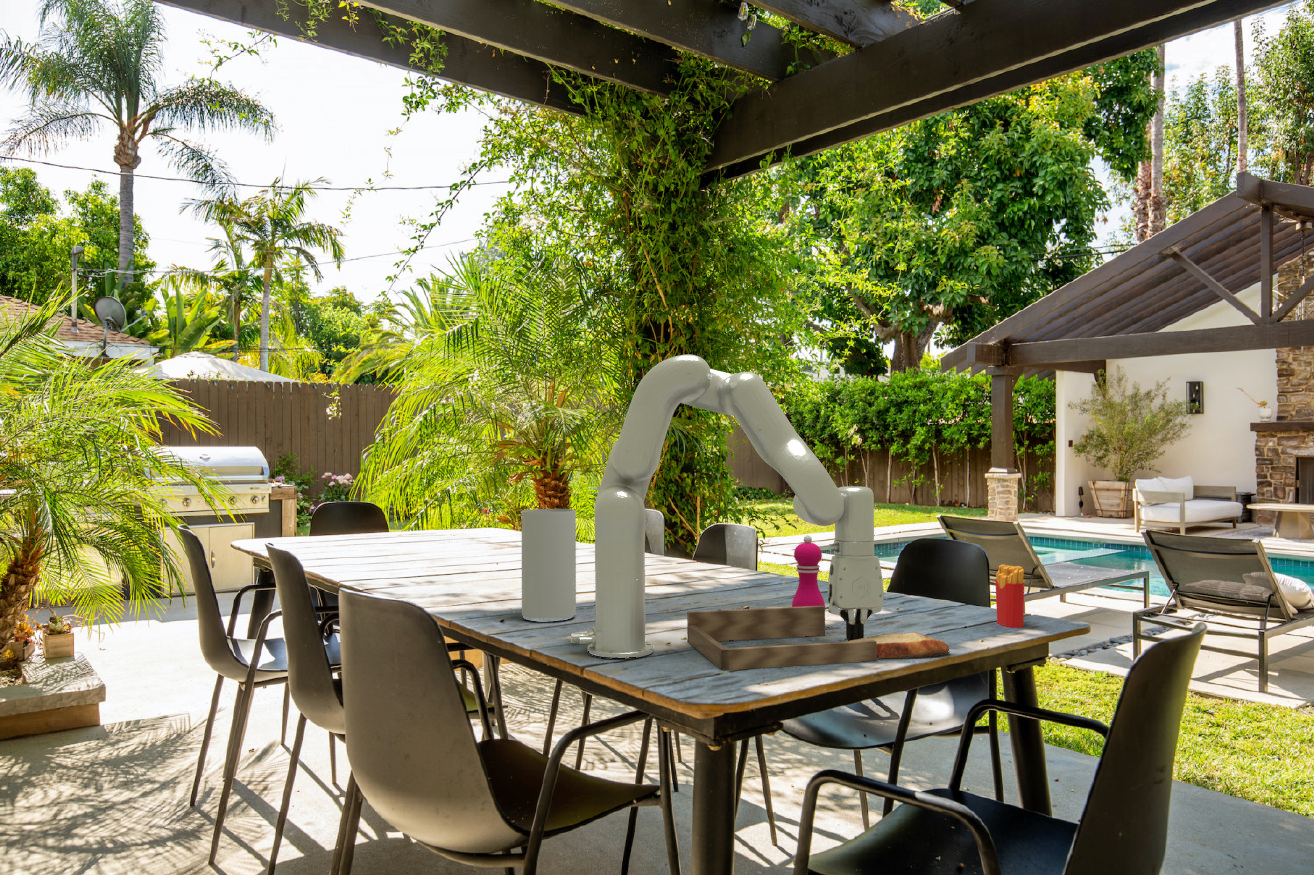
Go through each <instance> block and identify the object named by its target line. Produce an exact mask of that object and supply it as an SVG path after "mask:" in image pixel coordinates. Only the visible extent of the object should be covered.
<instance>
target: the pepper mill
mask: <svg viewBox="0 0 1314 875" xmlns="http://www.w3.org/2000/svg"><path fill="white" fill-rule="evenodd" d="M812 538H813V537H812V536H811V535H805V536H804V537H803V541H804V542H802V543H799V544H797V546H796V547H795V549H794V551H793V557H794V558H793V559H794V560H795V561H796V563H797V565H796V572H797V573H798V584H797V585H798V586H797V589H796V590H795V594H794V596H793V598H792V601H791V607H804V606H825V607H826V604H825V600H824V598H823V595H822V593H821V590H820V588H819V584H818V575H819V574H818V573H819V572H820V568H821V566H820V565H819V563H820V561H821V560H822V559H823V554H822V550H821V547H820V546H819V545H817V544H816V543H813V542H812V541H813V539H812Z"/></svg>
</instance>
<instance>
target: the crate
mask: <svg viewBox="0 0 1314 875" xmlns="http://www.w3.org/2000/svg"><path fill="white" fill-rule="evenodd" d="M686 614H687V616H686V617H687V622H686V624H687V626H686V628H687V639H686V640H687V643H689V644H690V645H691V646H693V647H694V648H695V649H696V650H697V651H698V652H699V653H701V654H702V655H703V656H704V657H705V658H707V657H708V658H707V659H708V660H709V659H710V660H711V661H710V660H709V661H710V662H712V663H713V664H714V665H715V666H716V665H717V666H716V667H717V668H719V669H720V670H721V671H733V670H735V671H736V670H747V669H748V670H750V669H751V670H752V669H764V668H765V669H766V668H782V667H783V668H784V667H798V666H799V667H801V666H816V665H833V664H847V663H848V662H849V664H851V663H862V662H861V661H868V662H873V661H872V660H878V659H877V650H876V641H874V640H869V641H851V642H848V641H836V642H835V641H834V642H819V643H798V644H781V645H765V646H764V645H762V646H748V647H747V646H744V647H743V646H742V647H730V648H729V647H726V646H724V645H723V644H721V643H720V642H730V641H729V640H734V641H748V640H749V641H750V640H769V639H785V638H786V639H787V638H804V637H805V636H809V637H824V636H825V637H826V605H825V606H804V607H792V606H786V607H764V608H760V607H759V608H743V609H720V610H719V609H718V610H699V611H698V610H697V611H696V610H694V611H687V612H686ZM805 638H806V637H805ZM850 662H851V663H850Z"/></svg>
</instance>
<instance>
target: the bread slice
mask: <svg viewBox="0 0 1314 875" xmlns="http://www.w3.org/2000/svg"><path fill="white" fill-rule="evenodd" d="M869 640H874V641H876V650H877V658H900V659H904V658H903V657H919V658H926V657H927V658H929V657H933V655H936V656H941V654H943V655H946V654H947V653H949V652H950V647H949V645H948V644H947V643H946V642H944V641H942V640H940V639H935V638H934V637H931V636H927V635H925V634H922V633H919V632H914V631H913V632H907V633H906V632H905V633H904V632H903V633H890V634H882V635H871V636H868V637H864V638H861V639H856V640H851V641H869ZM851 641H848V640H847V642H851ZM948 651H949V652H948ZM945 653H946V654H945Z"/></svg>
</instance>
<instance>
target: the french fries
mask: <svg viewBox="0 0 1314 875" xmlns="http://www.w3.org/2000/svg"><path fill="white" fill-rule="evenodd" d="M1024 574H1025V569H1023V566H1020V565H1016V566H1013V565H1008V564H1005V563H1004V564H1000V565H998V570H997V572H996V573H995V577H996V578H995V579H994V580H995V581H994V582H995V600H996V601H995V602H996V603H995V605H996V607H995V608H996V622H997V624H999V625H1001V626H1003V627H1006V628H1011V629H1012V628H1013V629H1014V628H1015V629H1018V628H1019V629H1020V628H1024V623H1025V622H1024V620H1025V617H1024V616H1025V582H1024V576H1025V575H1024Z"/></svg>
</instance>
